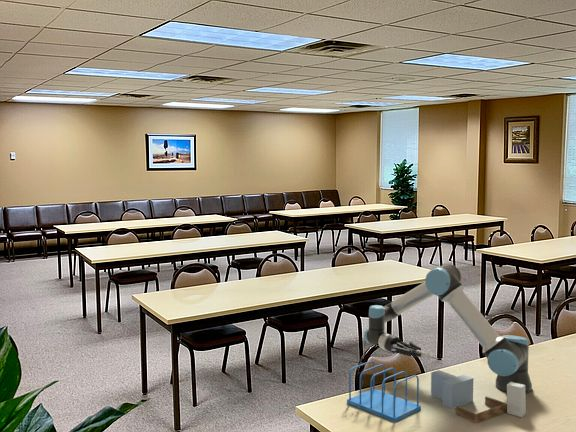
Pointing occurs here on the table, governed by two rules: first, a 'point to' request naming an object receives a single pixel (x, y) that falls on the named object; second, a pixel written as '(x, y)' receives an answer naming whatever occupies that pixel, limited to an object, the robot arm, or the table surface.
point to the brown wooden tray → (498, 409)
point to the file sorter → (384, 397)
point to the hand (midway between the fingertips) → (427, 356)
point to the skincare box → (516, 399)
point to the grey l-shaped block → (452, 388)
